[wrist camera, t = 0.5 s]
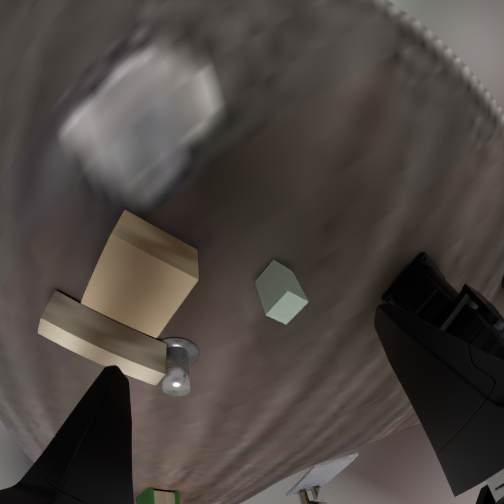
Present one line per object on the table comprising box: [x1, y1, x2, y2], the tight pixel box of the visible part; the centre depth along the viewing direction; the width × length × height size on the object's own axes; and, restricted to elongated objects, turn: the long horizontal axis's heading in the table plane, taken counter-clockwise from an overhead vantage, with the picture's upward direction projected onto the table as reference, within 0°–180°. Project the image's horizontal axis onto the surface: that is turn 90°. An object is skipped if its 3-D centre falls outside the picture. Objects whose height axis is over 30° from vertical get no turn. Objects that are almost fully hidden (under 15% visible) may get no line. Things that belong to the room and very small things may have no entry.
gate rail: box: [38, 290, 167, 385], centre depth 21 cm, size 11×2×4 cm, turn 52°
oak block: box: [81, 210, 199, 338], centre depth 19 cm, size 6×6×4 cm
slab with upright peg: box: [286, 453, 359, 504], centre depth 59 cm, size 12×33×10 cm, turn 174°
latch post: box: [255, 260, 308, 324], centre depth 22 cm, size 2×2×4 cm
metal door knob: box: [161, 337, 199, 396], centre depth 24 cm, size 4×4×4 cm
